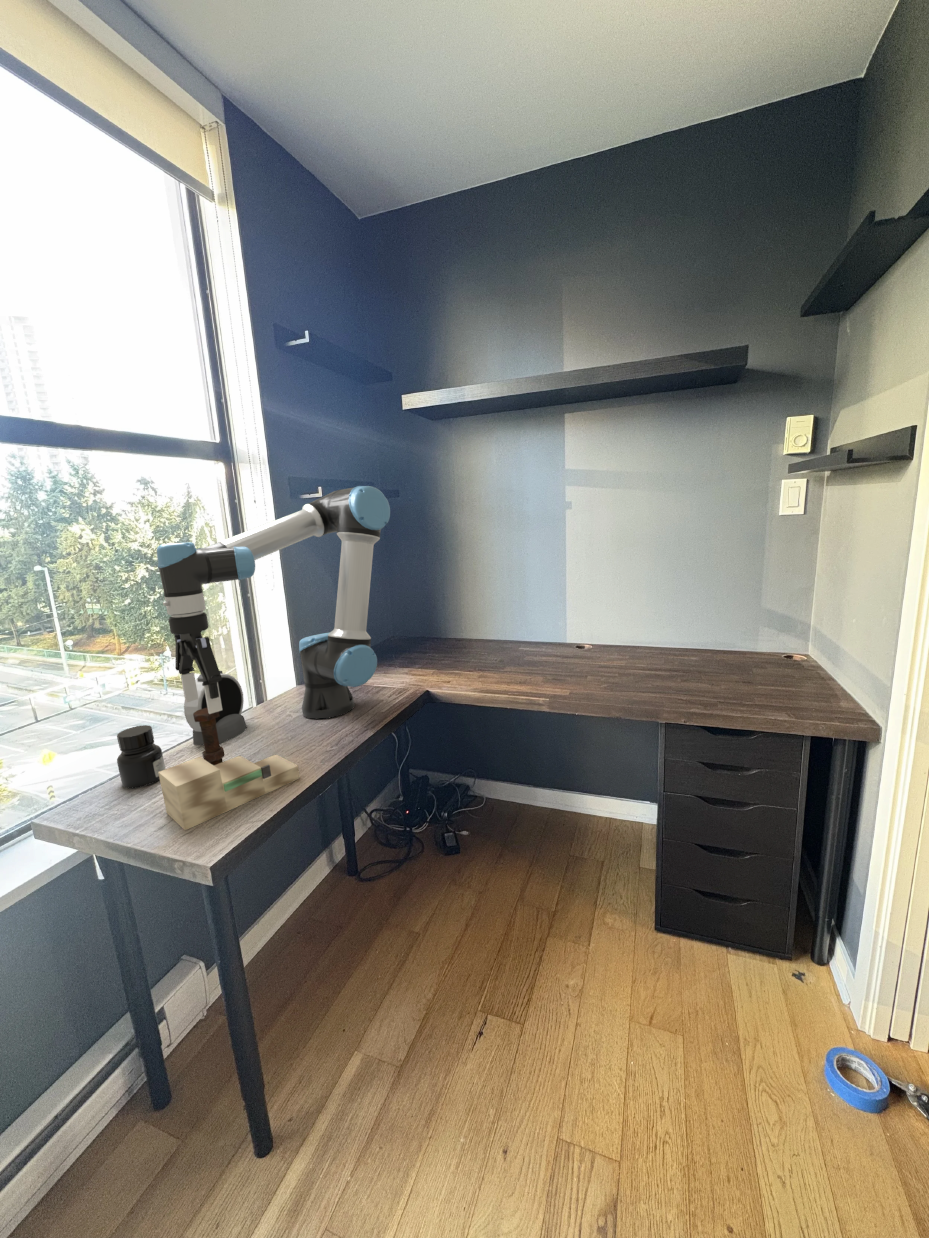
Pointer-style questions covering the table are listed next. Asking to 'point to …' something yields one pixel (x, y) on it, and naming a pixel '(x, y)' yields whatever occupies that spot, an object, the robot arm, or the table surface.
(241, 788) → the stair stand
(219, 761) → the bolt
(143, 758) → the ink bottle
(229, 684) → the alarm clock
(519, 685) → the table surface
